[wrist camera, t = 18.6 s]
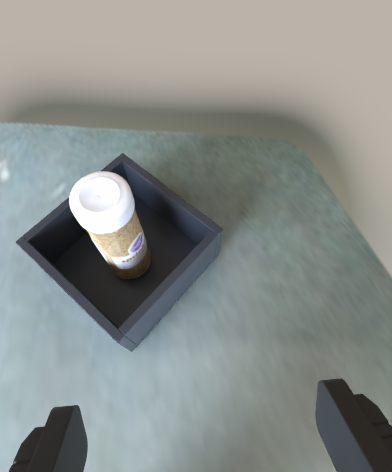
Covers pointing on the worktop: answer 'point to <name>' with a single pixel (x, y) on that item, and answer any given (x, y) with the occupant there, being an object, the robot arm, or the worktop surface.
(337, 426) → the robot arm
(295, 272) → the worktop surface
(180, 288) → the open box
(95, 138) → the worktop surface
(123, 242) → the sprinkles bottle
